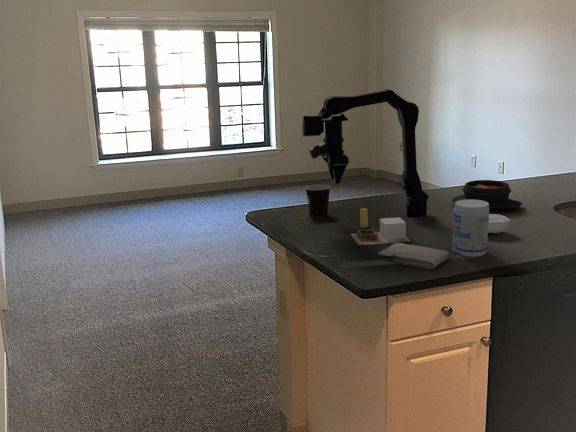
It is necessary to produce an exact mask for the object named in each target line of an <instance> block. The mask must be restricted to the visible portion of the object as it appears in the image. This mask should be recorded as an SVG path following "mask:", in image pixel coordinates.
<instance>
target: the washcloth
mask: <svg viewBox="0 0 576 432" xmlns="http://www.w3.org/2000/svg"><path fill="white" fill-rule="evenodd" d="M377 255H379V256H383V257H388V258H382V259H380V260H382V261H384V260H386V261H385V262H388V261H389V263H394V264H399V265H405V266H412V267H415V268H420V269H421V268H422V269H427V270H433V269H436V268H437V267H438V266H439V265H441V264H442V263H445V262H446V261H447V260H448V259H449V258H450V256H451V255H450V252H448V251H446V250H443V249H436V248H431V247H427V246H420V245H413V244H406V243H404V242H394V243H391V244H390V246H389V247H386V248H384V249H382V250H380V251H379V252H377ZM389 257H390V258H389Z"/></svg>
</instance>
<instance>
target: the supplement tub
mask: <svg viewBox="0 0 576 432" xmlns="http://www.w3.org/2000/svg"><path fill="white" fill-rule="evenodd" d="M489 214H490V210H489V203H487V202H485V201H482V200H474V199H465V200H459V201H456V202H454V207H453V220H452V221H453V225H452V227H453V228H452V229H453V230H452V247H451V248H452V250H453V251H454V252H456V253H455V254H456V255H458V256H461V257H467V258H468V257H469V258H477V257H482V256H484V255H485V254H487V252H488V236H489V233H488V223H489Z"/></svg>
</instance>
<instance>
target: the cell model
mask: <svg viewBox="0 0 576 432" xmlns="http://www.w3.org/2000/svg"><path fill="white" fill-rule="evenodd" d="M510 221H511V219H509V218H508V217H507V216H505V215H501V214H498V213H489V223H488V234H493V235H494V234H497V235H498V234H500V233H502V232H503V231H504V230H506V229H507V227H508V225H509V223H510Z"/></svg>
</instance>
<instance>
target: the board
mask: <svg viewBox="0 0 576 432" xmlns="http://www.w3.org/2000/svg"><path fill="white" fill-rule="evenodd" d="M350 235H351V237H352V239H354V242H356V244H357V245H358V246H366V245H367V246H368V245H379V244H395V243H405V242H411V240H410V239H409V238H408V236H406V239H394V240H385V239H384V238H383V237H382V236H381V235H380V231H376V230H375V229H373V228H370V229H369V228H368V229H358V230H356V233H350Z"/></svg>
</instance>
